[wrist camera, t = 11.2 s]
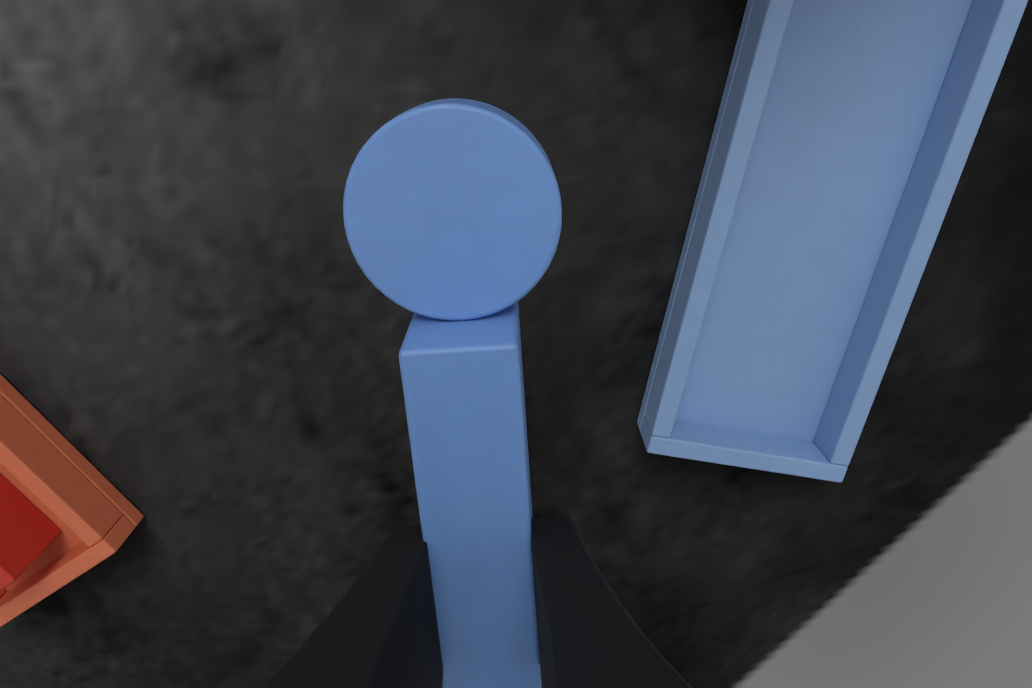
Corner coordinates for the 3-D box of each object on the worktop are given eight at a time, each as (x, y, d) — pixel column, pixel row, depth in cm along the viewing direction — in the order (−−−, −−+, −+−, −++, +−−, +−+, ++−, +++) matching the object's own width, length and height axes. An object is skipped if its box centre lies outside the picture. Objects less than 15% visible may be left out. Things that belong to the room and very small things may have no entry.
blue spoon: (575, 597, 14) (586, 690, 12) (416, 606, 14) (399, 700, 12) (552, 91, 11) (562, 99, 9) (344, 105, 11) (306, 117, 9)
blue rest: (817, 451, 21) (842, 483, 19) (636, 422, 20) (646, 453, 19) (1016, -94, 16) (1072, -110, 14) (784, -143, 16) (815, -166, 14)
